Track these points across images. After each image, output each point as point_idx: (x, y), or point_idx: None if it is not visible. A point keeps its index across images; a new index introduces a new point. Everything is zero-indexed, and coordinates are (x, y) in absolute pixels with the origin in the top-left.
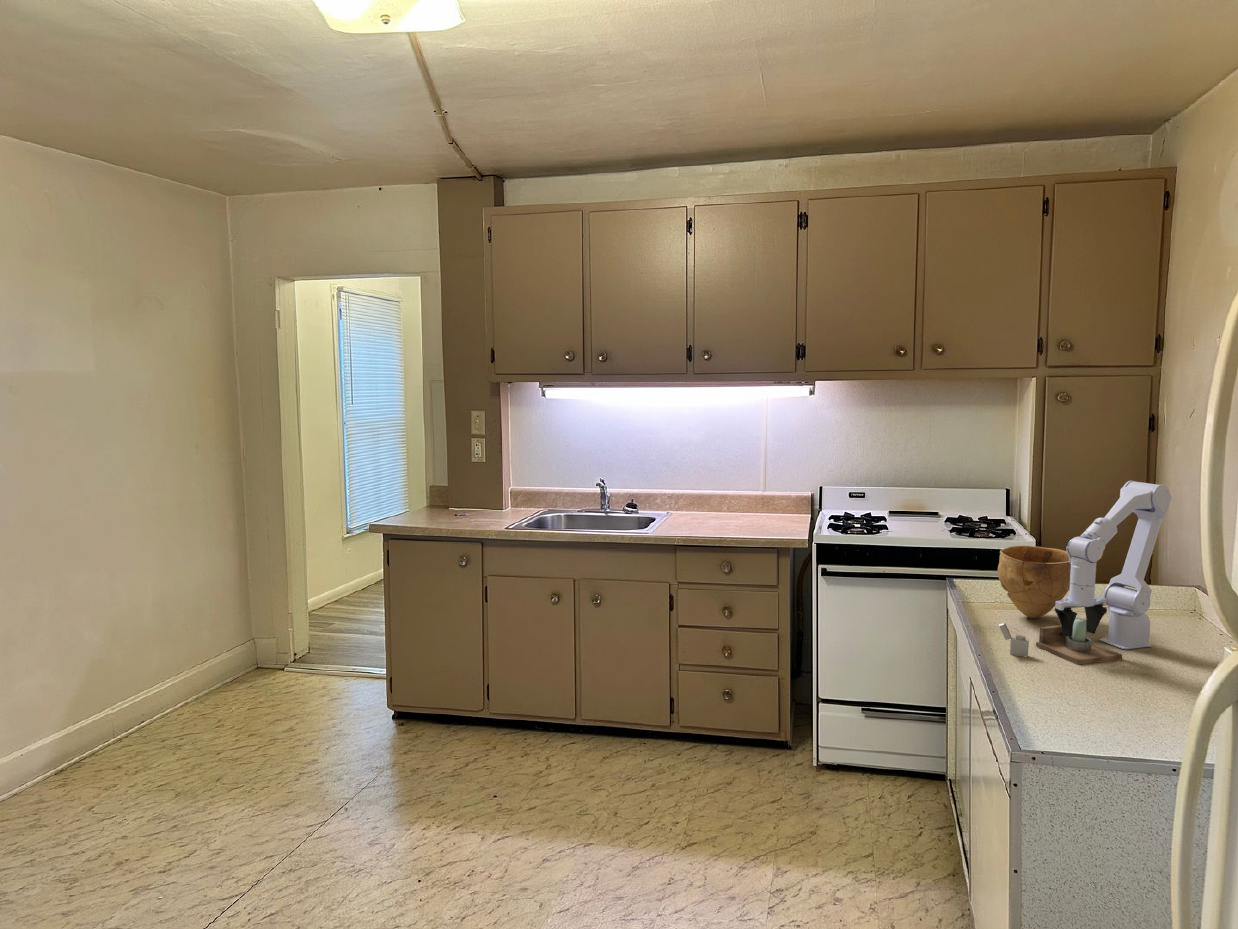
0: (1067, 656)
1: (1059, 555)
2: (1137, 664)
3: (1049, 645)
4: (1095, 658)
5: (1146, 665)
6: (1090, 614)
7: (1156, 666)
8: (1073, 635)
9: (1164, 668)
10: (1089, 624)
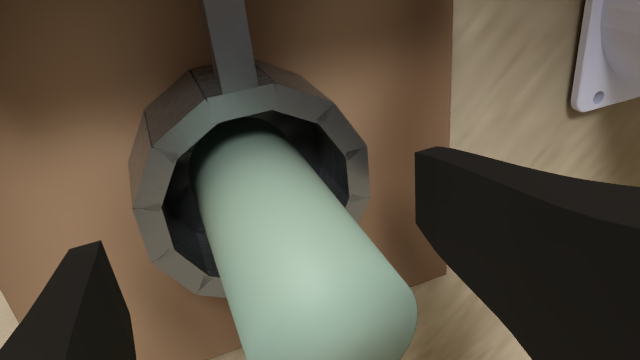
0: None
1: None
2: (441, 321)
3: None
4: (234, 345)
5: (469, 328)
6: (581, 298)
7: (499, 334)
8: (207, 231)
9: (508, 352)
10: (474, 216)
